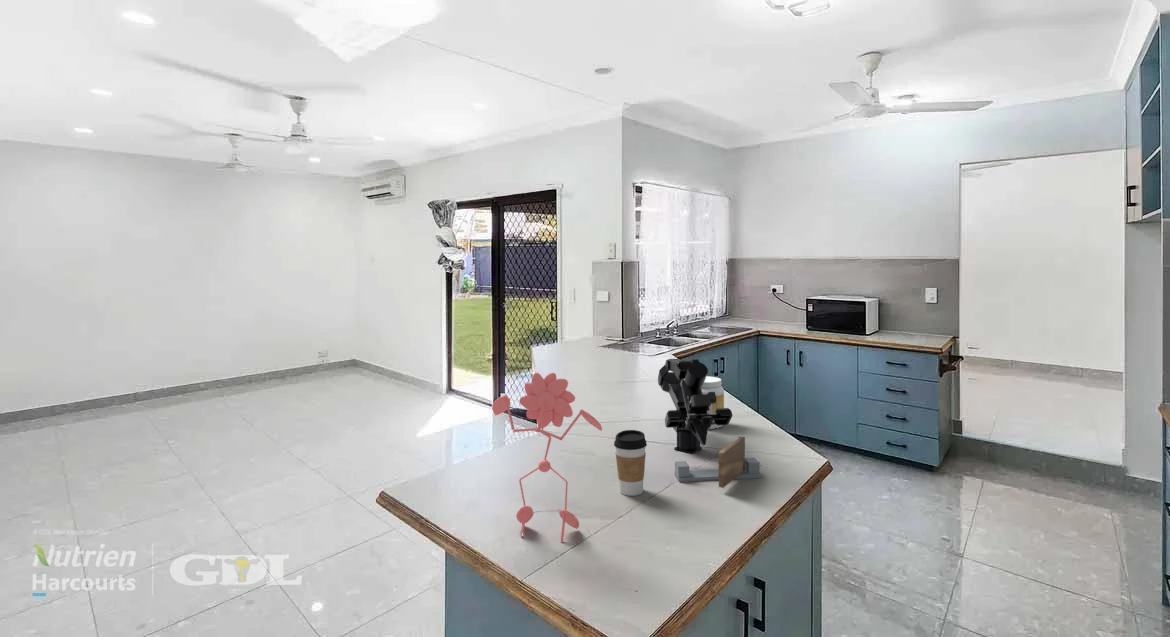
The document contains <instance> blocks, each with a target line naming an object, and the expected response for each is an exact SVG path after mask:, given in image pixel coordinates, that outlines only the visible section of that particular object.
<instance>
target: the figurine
mask: <svg viewBox="0 0 1170 637" xmlns="http://www.w3.org/2000/svg"><path fill="white" fill-rule="evenodd" d="M568 386H569V381H568V380H567V379H565V378H557V374H556V373H555V372H549V373H547V375H546V376H545V377H543V376H542V375H541V374H540V373H539V372H534V374H532V378H531V383H530V382H526V383H525V384H524V391H525V393H526V395H524V396H521V397H520V398H519V404H520V405H521V406H522V407H523V408H525V409H527V410H526V414H525V415H526V418H527V419H529V420H536V424H537V427H532V428H531V427H530V428H519V429H518V428H517V429H515V426H514V421H513V418H512V413H511V409H510V406H511V399H510V398H511V397H509V396H508V395H507V394H505V395H502V396H499V397H498V398H496V399H495V400H494V401H493V403H492V407H491V410H492V412H493V414H494V416H498V415H501V414H503V413H505V412H507V414H508V418H509V422H510V426H511V430H512V432H513V433H517V432H530V431H531V432H532V431H535V432H536V433H541V434H542V435H544V436H545V437H546V438H548V440H547V445H546V449H545V455H544V458H543V459H542V460H540V461H539V462H538V465H537V467H536V468H535V469H533V470H531V471H530V472H528V473H526V474H525V475H524V476H522V477H520V478H519V480H518V481H519V486H520V488H519V489H520V491H521V498H522V502H523V506H521V507H520V508H519V509H518V510H517V511H516V520H517V522H519V523H520V524H521V523H522V524H521V525H522V526H521V532H520V534H521V533H524V534H525V527H526V524H527V523H529V521H530V520H532V518H533V516H534V512H533V510H534V509H533V507H532V506H530V505H526V500H525V496H524V490H523V486H522V480H523V479H525V478H527V477H528V476H530V475H532V474H533V473H534V472H536V471H540V472H541V473H547V472H549V471H550V470H551V471H553V473H555V474H556V475H557V476H558V477H559V478H560V479H562V480H563V481H564V482H565V494H564V495H565V496H564V498H565V499H564V509H559V510H558V513H559V517H560V518H561V520H562V523H561V524H562V525H561V533H560V542H563V541H564V536H565V535H564V534H565V526H566V525H565V524H567V525H569V526H570V527H572V528H574V529H576V530H578V529H577V528H579V527H580V521H579V519H578V518H577V517H576V515H575V514H573V512H571V511H569V510H567V508H568V507H567V505H568V483H569V482H568V480H567V479H565V478H564V477H563V476H562V475H561V474H560V473H558V471H557V470H555V469H554V468H553V467H552V466H551V462H550V461H549V460H547V457H548V453H549V449H550V445H551V441H552V437H553V438H554V439H557V440H559V441H563V440H564V438H565V436H566V435H567V434H568V433H569V431H570V430H571V429H572V428H573V426H574V425H575V423H576V422H577V421H578V419H579V418H580V417H582V418H584V420H585V421H586V422H587V423H589V424H590V425H591V426H593V427H594V428H596V429H597V430H599V431H600V432H602V430H603V427H602V424H601V423H600V422H599V420H597V419H596V418H595V417H594V416H593V415H591V414H590V413H589V412H587V411H586V410H584V409H582V408H581V409H579V412H578V414H577V415H576V416H575V417H574V419H573V420H572V422H570V424H569V426H568V427H567V429H566V430H565V431H564V432H563V434H562V435H561V436H558V435H557V434H553V433H552V432H549V431H546V430H544V429H545V428H546V427H548V426H549V425H550V423H552V425H553V426H554V427H556V428H560V427H562V426H563V422H564V417H565V418H571V417H572V416H573V414H574V413H573V409H572V407H571V405H570V404H571V403H573V402H575V401H576V396H575V394H573V393H572V391H569V390H567V388H568ZM570 512H571V513H570ZM525 523H526V524H525ZM589 544H590V542H588V543H587V544H586V546H588V545H589Z"/></svg>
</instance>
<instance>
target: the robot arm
mask: <svg viewBox="0 0 1170 637" xmlns="http://www.w3.org/2000/svg"><path fill="white" fill-rule="evenodd" d="M708 373H709V368H708V367H707V366H706V365H705V364H704V363H703V362H700V360H699V358H696V359H693V358H692V359H691V360H689V359H688V360H682V359H679V358H668V359H666V360H665V362H664V365H663V366H662V367H661V368H660V369H659V370H658V375H657V385H658V386H659V387H660V388H661V390H662V391H663V392H666V393H668V394H669V397H670V399H671V400H672V403H673V405H674V407H675V410H674V409H673V410H672V409H670V410H667V411H666V414H665V418H664V424H665V427H666V428H672V429H673V430H674V431H675V433H676V446H675V447H674V448H673V449H674V450H675V451H680V452H684V453H689V454H693V453H696V452H697V451H699V450H701V449H702V448H703V447H702V446H706V444H707V438H708V437H707V436H708V430H709V429H708V428H710V427H711V424H712V422H713V420H714V423H715V424H716V425H723V426H727V425H729V423H730V422H731V421H732V420H731V419H732V418H733V413H732V410H731V409H730V408H729V407H724V408H717V410H716V412H715V413H707V411H709V406H711V404H715V403H716V402H717V399H716V394H715V392H709V393H707V394H703V393H702V389H701V386H703V384H704V382H705V379H706V376H708Z"/></svg>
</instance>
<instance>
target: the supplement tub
mask: <svg viewBox="0 0 1170 637" xmlns="http://www.w3.org/2000/svg"><path fill="white" fill-rule="evenodd" d="M722 385H723V384H722V378H719V377H715V376H710V375H709V376H708V375H707V376H706V379H705V382H704V384H703V386H701V389H702V393H703V394H707V393H709V392H715V394H716V399H717V402H716V403H715V404H711V406H709V411H707V413H715V412H716V410H717V408H725V390H724V387H723V386H722ZM723 426H724V425H716V424H715V423H714V420H713V422H712V424H711V427H710V428H708V430H716V429H715V428H717V429H719V427H720V428H722V427H723Z"/></svg>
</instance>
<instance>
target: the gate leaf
mask: <svg viewBox="0 0 1170 637" xmlns="http://www.w3.org/2000/svg"><path fill="white" fill-rule="evenodd" d="M745 458H746V437H745V436H739V437H738V438H736V439H735V440H734V441H733V442H731V443H730V444H728V445H726V446H725V447H724V448H722V449H721V450H720V451H718V469H719V480H718V488H722V489H724V488H726V486H728V485H729V484H730V483H731V482H732V481H733V480H735V479H734V478H736V477H737V476H738V475H739V474H740V473H741V472H742V471H744V470H745Z"/></svg>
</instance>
